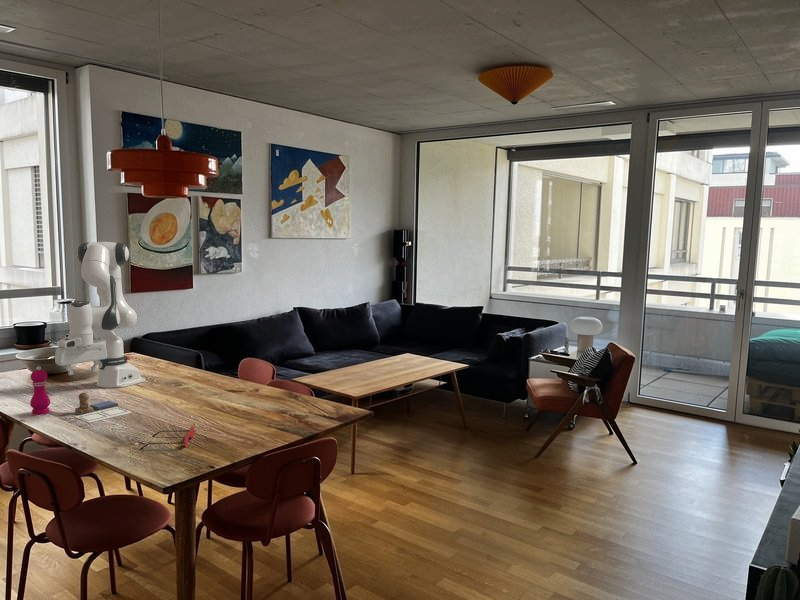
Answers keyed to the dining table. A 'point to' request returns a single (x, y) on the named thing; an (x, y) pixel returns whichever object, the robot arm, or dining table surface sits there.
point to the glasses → (178, 442)
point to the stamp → (83, 404)
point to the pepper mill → (39, 393)
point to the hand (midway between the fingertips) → (82, 372)
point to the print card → (102, 414)
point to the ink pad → (103, 405)
